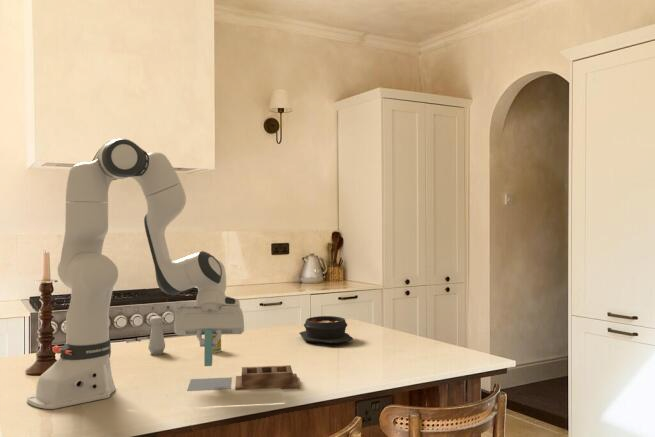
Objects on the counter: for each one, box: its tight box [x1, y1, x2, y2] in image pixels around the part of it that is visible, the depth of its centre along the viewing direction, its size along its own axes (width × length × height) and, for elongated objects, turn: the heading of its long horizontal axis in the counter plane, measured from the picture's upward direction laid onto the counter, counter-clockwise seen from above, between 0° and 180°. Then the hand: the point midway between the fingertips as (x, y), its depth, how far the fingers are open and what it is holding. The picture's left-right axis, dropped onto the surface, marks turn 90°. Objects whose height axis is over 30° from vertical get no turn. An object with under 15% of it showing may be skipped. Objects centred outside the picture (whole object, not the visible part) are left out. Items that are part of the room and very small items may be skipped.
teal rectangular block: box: [203, 329, 213, 367], centre depth 175 cm, size 2×4×10 cm, turn 8°
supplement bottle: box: [212, 335, 222, 354], centre depth 218 cm, size 5×5×10 cm
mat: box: [186, 376, 233, 392], centre depth 176 cm, size 12×12×1 cm
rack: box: [234, 364, 301, 391], centre depth 177 cm, size 18×12×4 cm, turn 98°
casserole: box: [298, 315, 354, 345], centre depth 235 cm, size 25×19×8 cm
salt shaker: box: [148, 315, 166, 356], centre depth 216 cm, size 6×6×13 cm
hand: (208, 345), depth 175 cm, fingers closed on teal rectangular block, 2 cm apart
